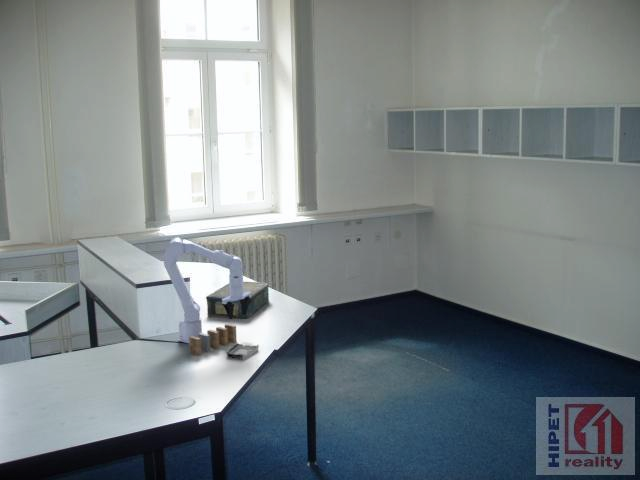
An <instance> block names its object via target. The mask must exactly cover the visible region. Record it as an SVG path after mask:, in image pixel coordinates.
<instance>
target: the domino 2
mask: <svg viewBox="0 0 640 480" xmlns="http://www.w3.org/2000/svg"><path fill="white" fill-rule="evenodd" d="M198 338H201V352H203V353H207V354H208V353H210V352H211V348H210V335H208V334H207V333H204V332H202V333H199V334H198Z"/></svg>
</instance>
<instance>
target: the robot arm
mask: <svg viewBox="0 0 640 480" xmlns="http://www.w3.org/2000/svg"><path fill="white" fill-rule="evenodd" d="M191 253H192V254H196V255H199V256H201V257H205V258H207V259H210V261H211V263H212V264H215V265H217V266H220V267H222V268H225V269H228V270H229V275H228V280H229V282H228V283H229V284H230V296H228V297H226V298H224V299H222V305H223V306H224V308H225V310H226V312H227V315H228V317H227V318H228V319H229V320H234V318H233V309H234V304H232V303H231V302H233V301H237V300H240V303H241V310H242V315H247V310H248V307H249V304H250V302H251V298H249V297H251V293H250V292H246V293H243V282H244V275H243V273H244V272H243V268H244V264H243V261H242V258H240V257H239V256H237V255H234V254H228V253H226V252H224V250H223V249H220V250H219V249H216V250H211V249H209V248H206V247H204V246H202V245H199V244H197V243H195V242H193V241H190V240H187V239H183V238H181V237H178V236H177V237H176V236H175V237H173V238H172V239H170V241H169V243H168V245H167V247H166V249H165V256H164V259H163V265H164V269H165V270H166V272H167V274H168V277H169V279H170V282H171V283H172V285H173V288H174V289H175V292H176V294H177V296H178V298H179V300H180V302H181V306H182V309H183V313H184V314H183V316H184V318H183V319H181V320H180V321H179V323H178V339H177V341H178V342H183V343H186V344H189V337H190V336H194V337H198V334H199V333H203V330H202V327H203V326H202V318H201V317H200V315H201V314H200V312H201V307H200V305H199V304H198V303H197V302H196V301H195V299H194V298H193V296H192V295H191V291H190V290H189V288H188V286H187V283H186V281H185V279H184V277H183V274H182V273H181V271H180V268H179V266H178V264H177V262H178V260H179V258H180V257H181V256H182V255H183V254H184V255H187V254H191Z"/></svg>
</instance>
